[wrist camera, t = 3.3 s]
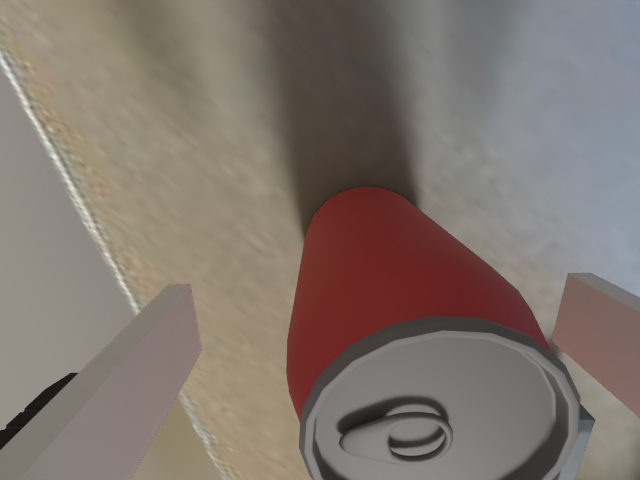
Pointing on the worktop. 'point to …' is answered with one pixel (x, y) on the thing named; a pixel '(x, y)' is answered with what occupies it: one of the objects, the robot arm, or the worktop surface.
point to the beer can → (418, 355)
